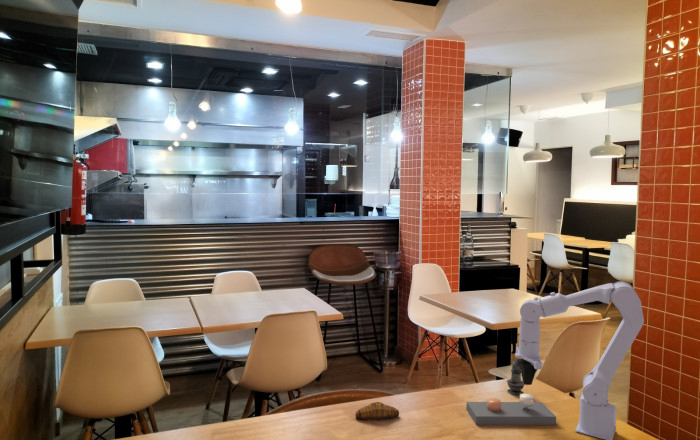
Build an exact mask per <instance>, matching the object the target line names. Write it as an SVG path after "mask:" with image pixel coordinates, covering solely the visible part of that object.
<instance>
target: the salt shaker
mask: <svg viewBox="0 0 700 440" xmlns="http://www.w3.org/2000/svg"><path fill="white" fill-rule="evenodd" d="M517 359H518V357H516V358H515V360H513V361H512V365H511V369H510V372H511V377H510V378H509V379H507V380H506V383H507V386H508V387H509V389H507V390H506V392H507V393H508V394H510V395H513V396H519V397H520V394H525V393H524V392H523V391H522V390H523V389H524V387H525V386H526V385H525V384H524V383H523V380H522V374H521V370H520V366H519V364H518V362H517Z"/></svg>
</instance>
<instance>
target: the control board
mask: <svg viewBox="0 0 700 440" xmlns="http://www.w3.org/2000/svg"><path fill="white" fill-rule="evenodd" d="M465 411H466V412H468V414H469V416H470V418H471V419H472V421H473V423H474V424H475V425H476V426H478V425H481V426H482V425H483V426H487V425H488V426H489V425H491V426H493V425H494V426H497V425H498V426H503V425H504V426H512V425H513V426H519V425H520V426H526V425H527V426H535V425H536V426H557V415H555V414H554V412H552V411H551V410H550V409H549V408H548V407H547V406H546V405H545V404H544V403H543V401H534V405H533V406H532V407H528V410H525V406H523V405H521V404H520V401H501V411H499V412H493V411H490V410H488V409H487V401H466V410H465Z"/></svg>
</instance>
